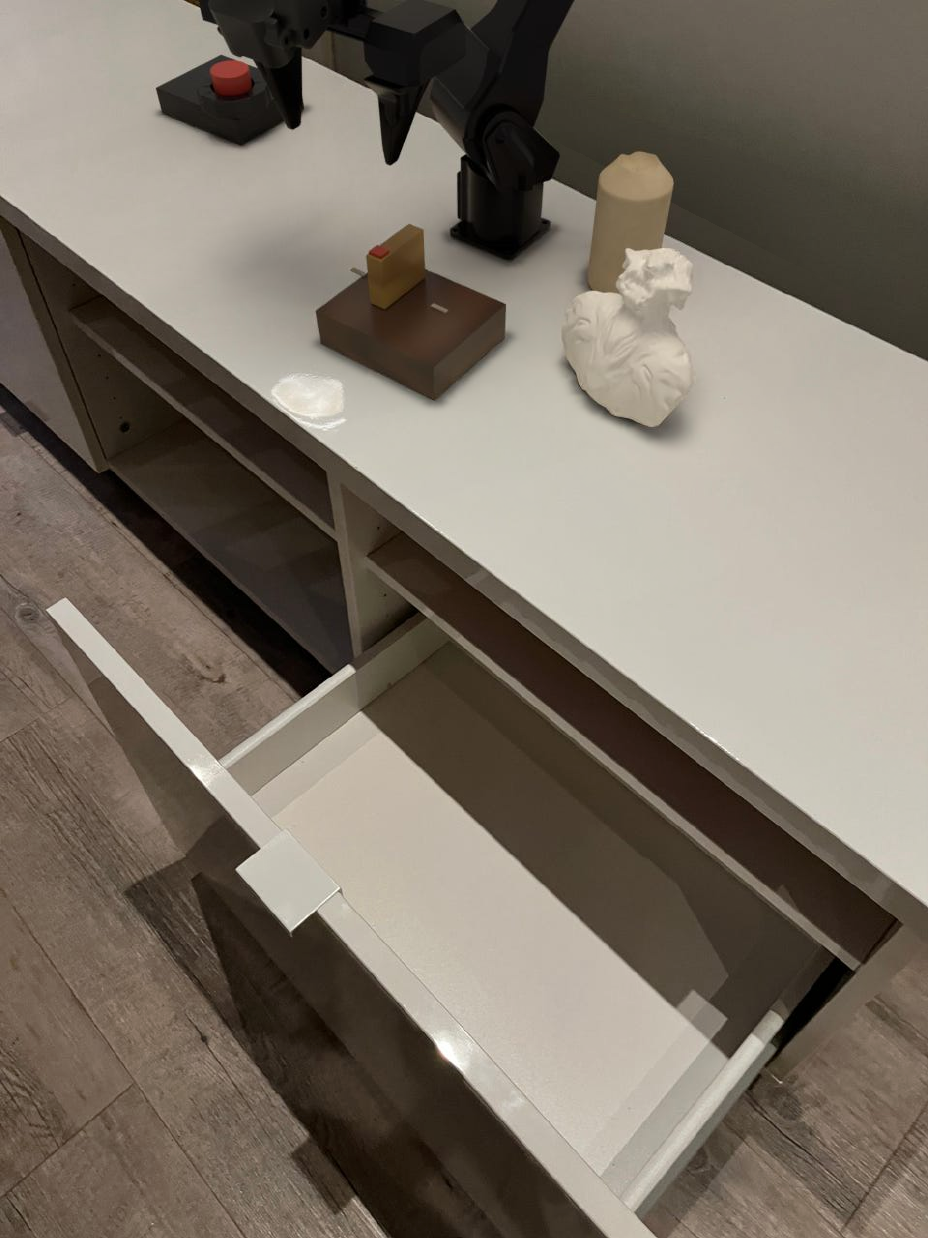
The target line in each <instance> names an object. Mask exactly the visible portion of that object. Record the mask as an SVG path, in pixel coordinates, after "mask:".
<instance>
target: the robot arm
mask: <svg viewBox="0 0 928 1238" xmlns="http://www.w3.org/2000/svg"><path fill="white" fill-rule="evenodd" d="M575 1H576V0H496V2H495V4H494V6H493V7H492V9H490V11H489V12H488V13H487V14H486V15H485V16H483V17H482V18H481V19H480V20H479V21H478V22H477V23H475V24H474V25H473V26H472V27H469V26H468V25H466V23H465V21H464V19H463V17H462V16H461V14H460V13H459V12H458V11H457V9H456V8H453V7H449V6H446V5H442V4H439V3H437V2H436V3H435V2H432V1H429V0H404V1H403V2H401V3H399V4H397V5H396V6H394V7H393V8H391V9H389V10H387V11H386V12H385V11H382V10H378V9H375V8H372V7H370V6H371V4H370V3H371V1H370V0H198V3H199V8H200V13H201V17H202V18H201V19H202V21H203V22H207V23H210V24H213V25H216V26H217V27H216V31H217V32H218V33H219V34H220V35H221V36H222V37H223V40H224V42H225V44H226V45H227V47H228V50H229V52H230V53H231V54H232V55H233V56H235V57H236V58H241V59H242V57H244V58H247V59H250V60H252V61H253V63H254V64H255V67H256V68H258V70H259V71H260V73H261V75H262V77H263V79H264V81H265V83H266V85H267V87H268V89H269V91H270V93H271V95H272V97H273V99H274V101H275V103H276V105H277V107H278V109H279V111H280V113H281V115H282V117H283V119H284V121H283V122H284V124H285V126H286V127H287V129H289V130H291V131H294V130H295V129H297V128H299V127H300V126H301V124H302V115H303V110H302V96H303V50H312V49H313V48H314V46H315V45H316V44H317V43H318V41H319V40H320V38H322V36H323V35H324V34H325V32H330V33H333V34H335V35H338V36H342V37H345V38H349V39H352V40H355V41H357V42H361V43H362V45H363V55H364V56H363V57H364V62H365V63H366V65H367V66H368V68H369V69H370V71H371V73H370V74H369V75H367V76H366V77H364V78H363V81H364V83H365V84H366V85H367V86H368V87H369V88H370V89H371V90H372V92H374V93H375V94H376V98H377V107H378V117H379V118H378V119H379V129H380V139H381V148H382V152H383V159H384V163H385V165H387V166H389V167H391V166H393V165H394V164H396V163H397V162H398V161H399V160H400V156H401V154H402V151H403V148H404V146H405V144H406V141H407V138H408V135H409V132H410V129H411V127H412V124H413V122H414V119H415V116H416V113H417V111H418V109H419V106H420V104H421V101H422V99H423V96H424V94H425V92H426V91H427V89H428V86H429V84H430V83H431V80H432V79H433V82H432V85H431V89H430V92H429V93H430V95H429V100H430V102H431V108H432V112H433V115H434V117H435V119H436V121H437V122H438V123H439V125H440V126H441V127H442V129H444V131H445V132H446V133H447V134H448V135H449V136H450V137H451V138H452V140H453V141H454V142H455V143H456V144H457V146H458V147H459V148H460V150H462V152H464V154H463V155H462V156H461V157H460V169H459V171H458V172H457V173H456V213H457V214H456V216H457V219H458V220H459V222H458V223H456V224H455V225H453V226H452V227H451V228H449V237H451V238H452V239H455V240H457V241H459V242H461V243H465V244H467V245H469V246H472V247H474V248H476V249H479V250H481V251H483V252H486V253H488V254H491V255H493V256H496V257H498V258H500V259H503V260H506V261H511V260H514V259H515V258H516V257H517V256H519V255H520V254H521V253H522V252H523V251H525V250H526V249H527V248H528V247H529V246H531V245H532V244H533V243H534V242H535V241H537V240H538V239H539V238H540V237H542V236H543V235H544V234H545V233H546V232H548V231H549V230H550V229H551V223H552V222H551V221H550V219H547V218H545V217H543V216H542V214H543V213H542V212H543V199H544V187H545V185H544V184H545V182H550V181H551V180H552V178H553V176H554V173H555V171H556V168H557V165H558V163H559V160H560V157H561V153H560V152H559V150H557V149H556V148H555V147H554V146H553V145H552V144H551V142H549V140H547V138H546V137H545V136H543V134H542V133H541V132H539V130H538V129H537V128H536V127H535V125H536V122H537V120H538V117H539V114H540V112H541V109H542V107H543V103H544V101H545V97H546V87H547V77H548V70H549V69H548V68H549V59H550V52H551V48H552V46H553V44H554V41H555V39H556V37H557V36H558V35H559V32H560V30H561V28H562V26H563V24H564V22H565V20H566V18H567V16H568V14H569V12H570V11H571V8H572V7H573V5H574V3H575Z"/></svg>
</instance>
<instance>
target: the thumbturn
mask: <svg viewBox="0 0 928 1238" xmlns="http://www.w3.org/2000/svg"><path fill="white" fill-rule="evenodd" d="M425 254H426V253H425V231H424V229H423V228H420V227H418V226H416V225H413V224H411V223H408V224H407V225H405V226H404V227H402V228H401V229H400V230H398V231H397V232H395V233H393V235H391V236H390V237H388V238H387V239H385V240H384V241H383V242H382V243H380V244H377V245H375V246H373V247H372V248H371V249H369V250H368V253H367V254H366V255H365V259H366V260H365V261H366V272H368V281H369V291H370V302H371V303H372V304H374V305H376V306H378V307H380V308H382V309H386V308H387V307H389V306H390V305H391V304H392V303H394V302H395V301H396V300H398V299H399V298H400V297H401V296H403V295H404V294H405V293H406V292H408V291H409V290H410V289H412V288H413V287H414V286H415V285H417V284H418V283H419V282H421V281H422V280H423V279H424V278H425V269H426V256H425Z"/></svg>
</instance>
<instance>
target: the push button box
mask: <svg viewBox="0 0 928 1238" xmlns="http://www.w3.org/2000/svg"><path fill="white" fill-rule="evenodd" d="M229 60H235V61H238V60H237V59H235V58H232V57H229V56H226V55H224V54H219V55H217V56H216V57H213V58H211V59H210V60H207V61H206V62H204V63H201V64H199V65H198V66H195V67H194V68H192V69H190V70H188V71H186V72H184V73H182V74H180V75H178V76H176V77H174V78H172V79H171V80H168V81H166V82H164V83H162V84H160V85H158V86H156V87H155V92H156V95H157V99H158V103H159V107H160V111H161V114H164V115H166V116H168V117H171V118H174V119H176V120H179V121H181V122H183V123H185V124H189V125H191V126H193V127H195V128H198V129H199V130H202V131H204V132H207V133H209V134H212V135H215V136H217V137H219V138H222V139H224V140H226V141H229V142H231V143H233V144H236V145H238V146H243V145H245V144H248V143H249V142H250V141H252V140H253V139H255V138H258V137H259V136H260V135H262V134H264V133H266V132H267V131H270V130H271V129H272V128H274V127H276V126H278V125H279V124H281V123H283V122H285V121H284V119H283V117H282V115H281V113H280V111H279V109H278V107H277V105H276V103H275V101H274V99H273V97H272V95H271V93H270V91H269V89H268V87H267V85H266V83H265V81H264V79H263V77H262V75H261V73H260V71H259V70H258V68H257V66H254V65H250V64H248V63H246V64H247V65H248V66H249V71H250V77H251V82H252V89H251V90H249V91H248V92H246V93H244V94H238V95H233V96H228V95H220V94H217V93H215V92H214V88H213V83H212V79H211V74H210V69H211V67H212V66H213V65H215V64H217V63H219V62H223V61H229ZM304 103H305V102H304V97H303V95H302V111H303V110H305V104H304Z"/></svg>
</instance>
